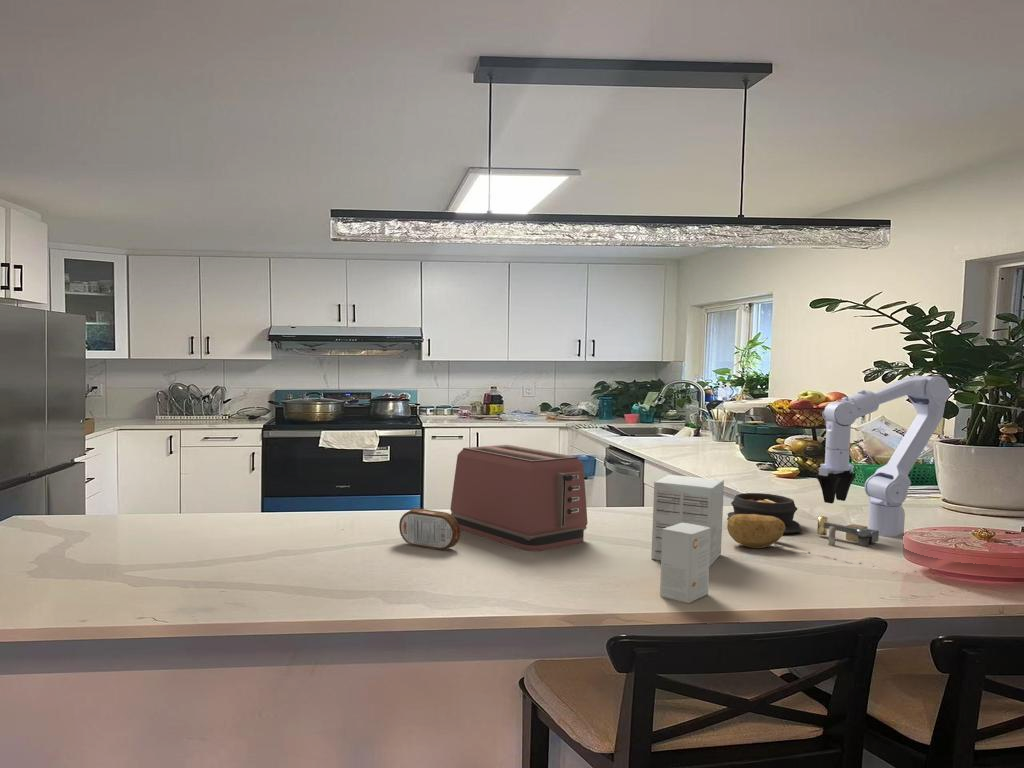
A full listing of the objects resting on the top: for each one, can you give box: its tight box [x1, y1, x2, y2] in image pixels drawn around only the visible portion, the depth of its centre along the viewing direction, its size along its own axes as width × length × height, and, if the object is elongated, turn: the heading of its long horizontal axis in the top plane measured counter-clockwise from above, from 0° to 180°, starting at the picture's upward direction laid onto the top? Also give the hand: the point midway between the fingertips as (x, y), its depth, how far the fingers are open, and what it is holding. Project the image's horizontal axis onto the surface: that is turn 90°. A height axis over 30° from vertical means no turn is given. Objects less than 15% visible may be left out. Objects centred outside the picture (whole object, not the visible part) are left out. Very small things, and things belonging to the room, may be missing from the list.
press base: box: [828, 526, 870, 548], centre depth 194 cm, size 16×20×6 cm
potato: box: [726, 514, 785, 549], centre depth 190 cm, size 10×14×8 cm
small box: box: [659, 523, 711, 604], centre depth 150 cm, size 8×6×13 cm
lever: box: [816, 515, 879, 544], centre depth 196 cm, size 7×13×4 cm, turn 41°
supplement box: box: [650, 474, 725, 568], centre depth 178 cm, size 13×13×18 cm
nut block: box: [845, 523, 869, 543], centre depth 196 cm, size 4×4×4 cm
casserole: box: [726, 492, 803, 534], centre depth 211 cm, size 25×19×8 cm
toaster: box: [449, 444, 588, 552], centre depth 196 cm, size 19×34×20 cm, turn 40°
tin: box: [398, 507, 461, 551], centre depth 180 cm, size 15×3×8 cm, turn 65°
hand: (834, 501), depth 202 cm, fingers open, 6 cm apart
